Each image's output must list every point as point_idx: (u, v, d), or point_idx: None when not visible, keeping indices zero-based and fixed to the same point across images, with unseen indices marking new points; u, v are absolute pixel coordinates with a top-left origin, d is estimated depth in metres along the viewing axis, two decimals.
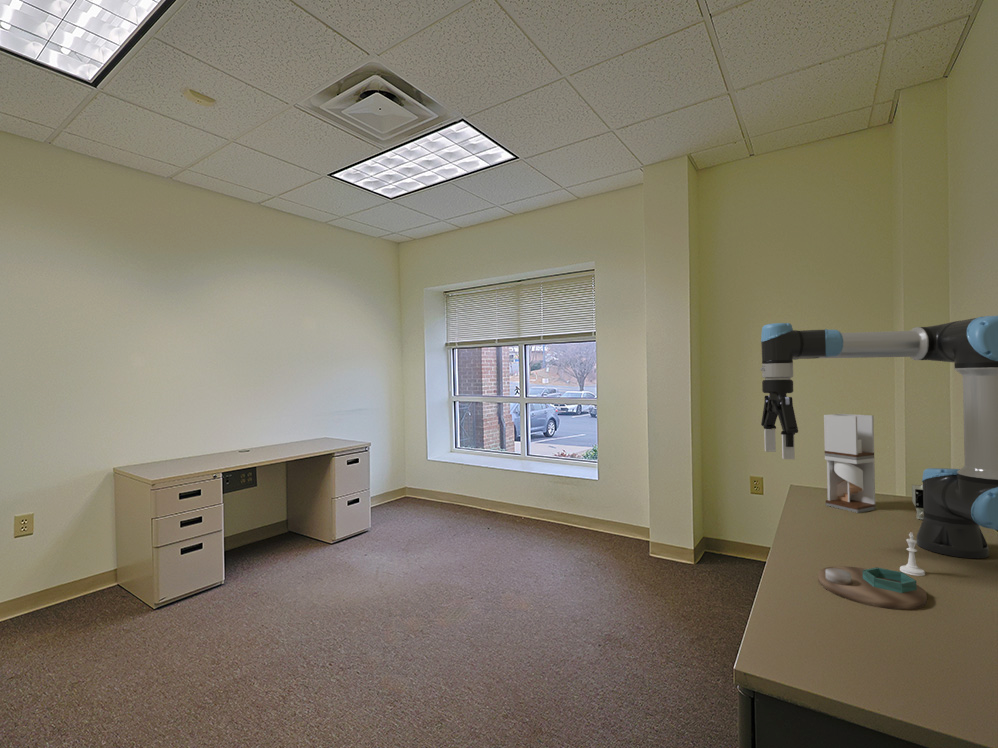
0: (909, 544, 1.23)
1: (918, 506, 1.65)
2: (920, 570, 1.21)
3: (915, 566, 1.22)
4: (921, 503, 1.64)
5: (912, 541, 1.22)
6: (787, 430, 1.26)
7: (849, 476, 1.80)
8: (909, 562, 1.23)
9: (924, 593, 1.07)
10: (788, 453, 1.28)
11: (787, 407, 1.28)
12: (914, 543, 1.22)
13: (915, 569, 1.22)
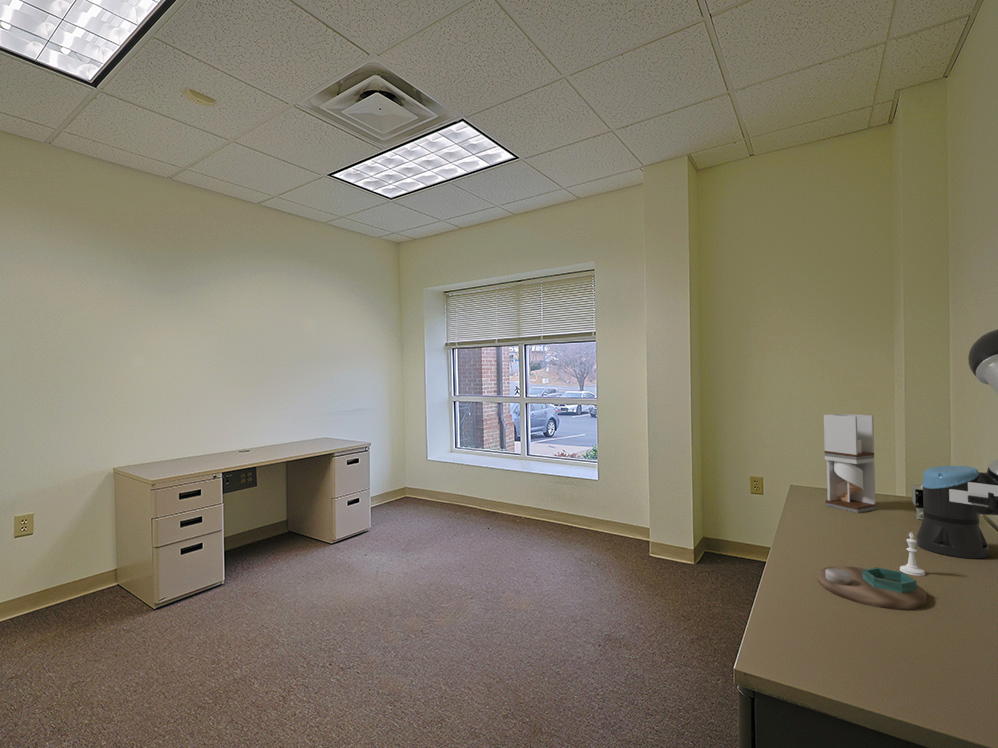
0: (909, 544, 1.23)
1: (918, 506, 1.65)
2: (920, 570, 1.21)
3: (915, 566, 1.22)
4: (921, 503, 1.64)
5: (912, 541, 1.22)
6: None
7: (848, 476, 1.80)
8: (909, 562, 1.23)
9: (924, 593, 1.07)
10: None
11: None
12: (914, 543, 1.22)
13: (915, 569, 1.22)
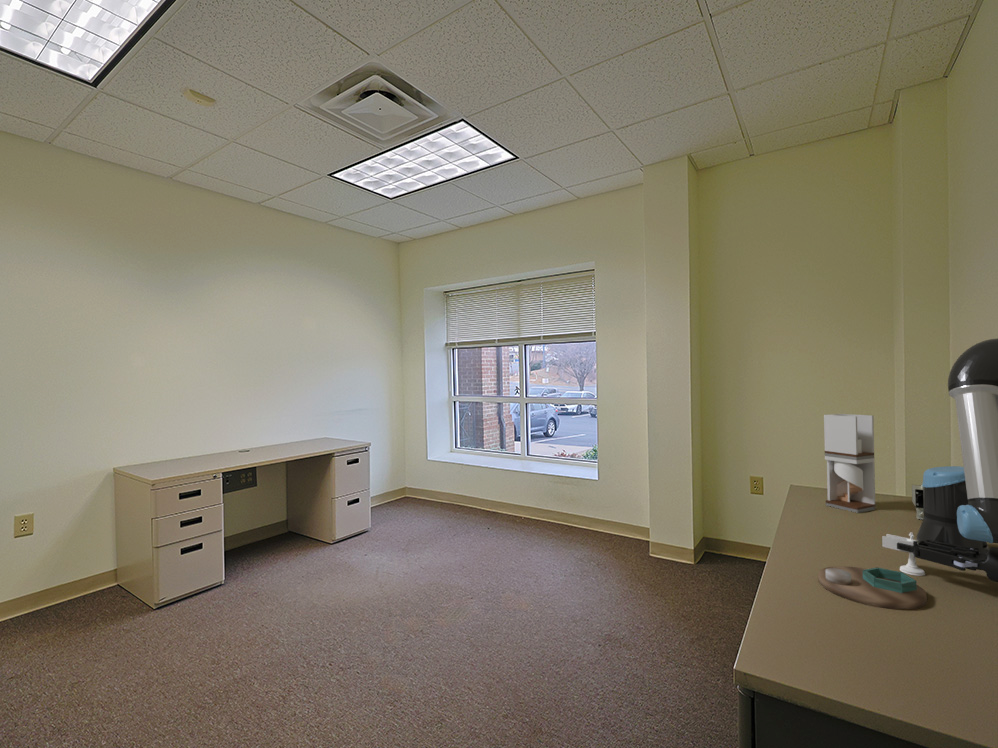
0: None
1: (918, 506, 1.65)
2: (920, 570, 1.21)
3: (915, 566, 1.22)
4: (921, 503, 1.64)
5: (912, 541, 1.22)
6: None
7: (849, 476, 1.80)
8: (909, 562, 1.23)
9: (924, 593, 1.07)
10: None
11: None
12: None
13: (915, 569, 1.22)
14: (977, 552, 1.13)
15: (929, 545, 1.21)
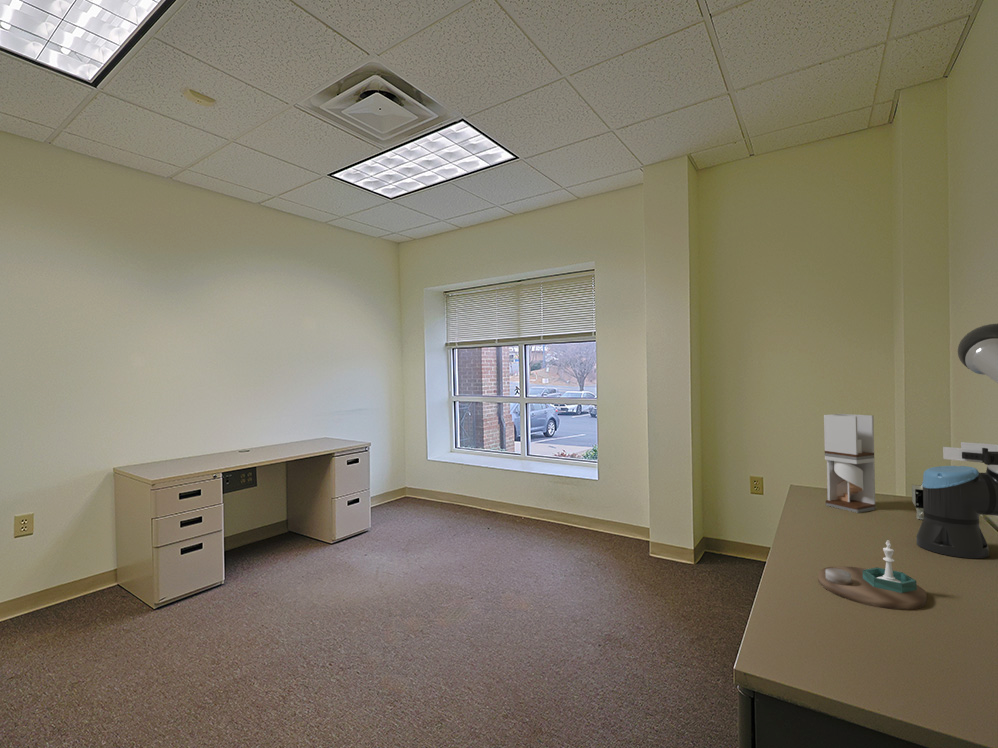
0: (886, 553, 1.12)
1: (918, 506, 1.65)
2: None
3: (892, 578, 1.11)
4: (921, 503, 1.64)
5: (888, 551, 1.12)
6: None
7: (848, 476, 1.80)
8: (886, 573, 1.12)
9: (924, 593, 1.07)
10: None
11: None
12: (891, 552, 1.12)
13: None
14: None
15: None
